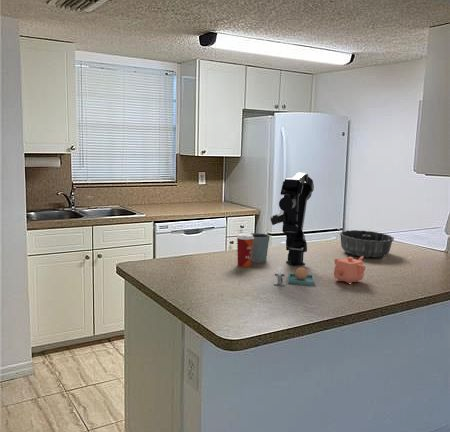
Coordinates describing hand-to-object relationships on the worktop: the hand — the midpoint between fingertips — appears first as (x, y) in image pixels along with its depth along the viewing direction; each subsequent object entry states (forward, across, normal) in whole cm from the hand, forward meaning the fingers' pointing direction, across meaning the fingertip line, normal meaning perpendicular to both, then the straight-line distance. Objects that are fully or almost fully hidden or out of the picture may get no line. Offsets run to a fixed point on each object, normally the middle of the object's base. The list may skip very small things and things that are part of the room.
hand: (289, 244), depth 203 cm
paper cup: (+12, -6, -19) cm, 23 cm away
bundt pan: (+12, -45, +39) cm, 61 cm away
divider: (+12, +12, -3) cm, 18 cm away
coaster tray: (+12, +12, +5) cm, 18 cm away
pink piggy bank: (+12, +8, +25) cm, 29 cm away
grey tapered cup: (+12, -17, -14) cm, 25 cm away
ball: (+12, +12, +5) cm, 18 cm away
